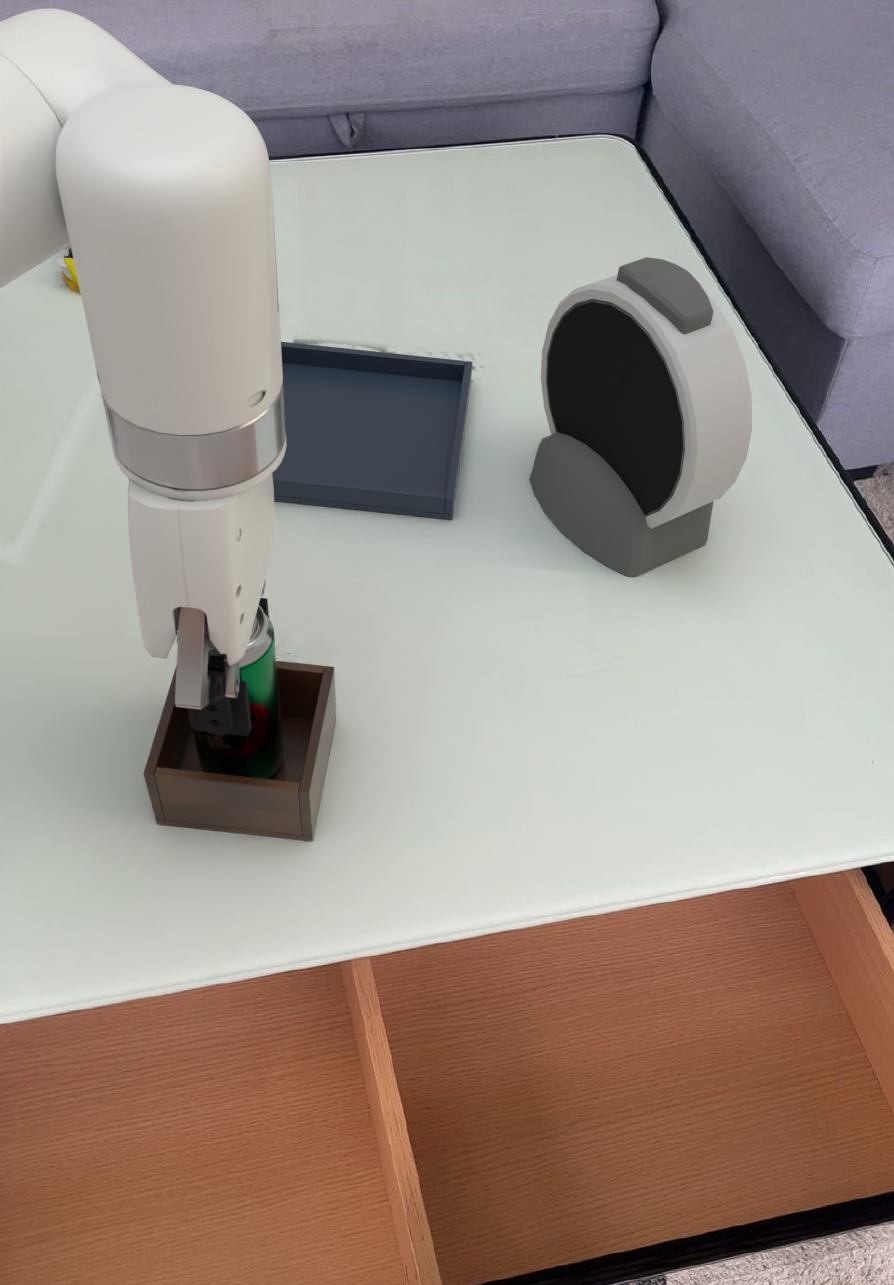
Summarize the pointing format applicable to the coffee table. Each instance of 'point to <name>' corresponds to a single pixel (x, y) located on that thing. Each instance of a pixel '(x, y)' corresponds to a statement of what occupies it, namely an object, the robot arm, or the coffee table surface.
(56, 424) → the coffee table surface
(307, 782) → the dark wooden box
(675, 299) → the alarm clock
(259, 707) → the soda can
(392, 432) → the tray
